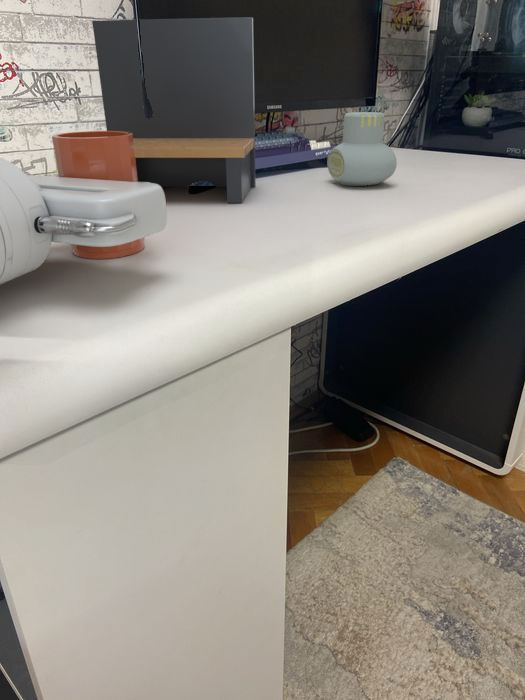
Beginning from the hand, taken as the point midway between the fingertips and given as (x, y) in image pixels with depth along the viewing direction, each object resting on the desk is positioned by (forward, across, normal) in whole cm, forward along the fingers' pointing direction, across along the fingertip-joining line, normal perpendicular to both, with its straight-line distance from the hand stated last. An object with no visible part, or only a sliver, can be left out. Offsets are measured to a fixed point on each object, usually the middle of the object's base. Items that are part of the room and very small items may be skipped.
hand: (103, 187), depth 50 cm
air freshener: (+42, -16, +6) cm, 46 cm away
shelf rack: (+25, +7, +6) cm, 27 cm away
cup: (0, 0, +6) cm, 6 cm away
